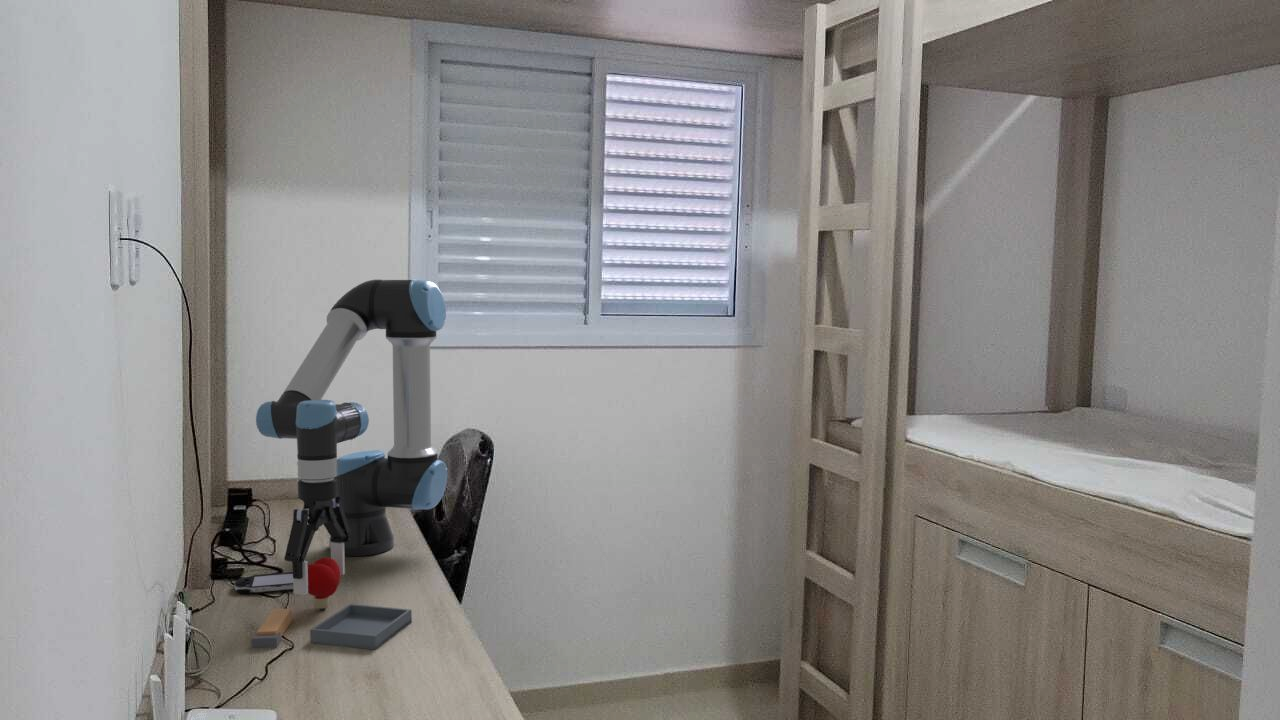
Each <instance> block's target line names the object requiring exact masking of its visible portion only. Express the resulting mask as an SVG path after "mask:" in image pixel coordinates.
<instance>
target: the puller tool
mask: <svg viewBox="0 0 1280 720" xmlns="http://www.w3.org/2000/svg"><path fill="white" fill-rule="evenodd" d="M292 611H293V610H292V608H273V609H272V610H271V611H270V613H269V614H268V616H266V618H265V620H264V621H263V623H262V624H261V625H260V626H259V627H258V629H257V631H256V632H255V633H254V634H253V636H252V637H251V640H250V641H251V649H252V648H258V649H278V647H279V645H280V643H281V642H282V637H283V635H284V634H285V632H286V631H287V629H288V627H289V626H290V624H291V623H292V621H293V614H292V613H293V612H292Z"/></svg>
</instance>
